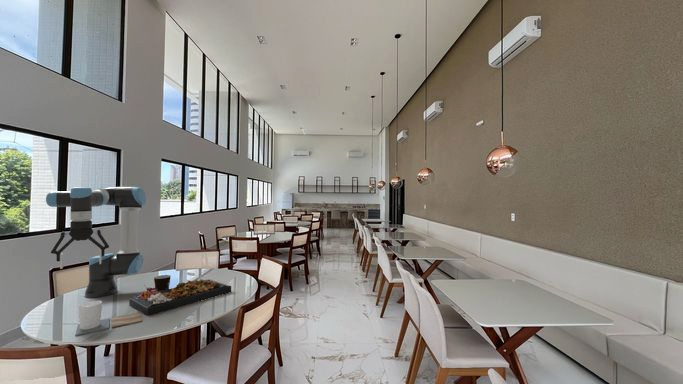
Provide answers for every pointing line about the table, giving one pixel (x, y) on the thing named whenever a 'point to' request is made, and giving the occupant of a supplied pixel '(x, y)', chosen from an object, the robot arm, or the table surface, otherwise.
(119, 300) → the table surface
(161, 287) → the coffee mug
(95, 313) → the white cup
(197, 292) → the food platter
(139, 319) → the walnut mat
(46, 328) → the table surface
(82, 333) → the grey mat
